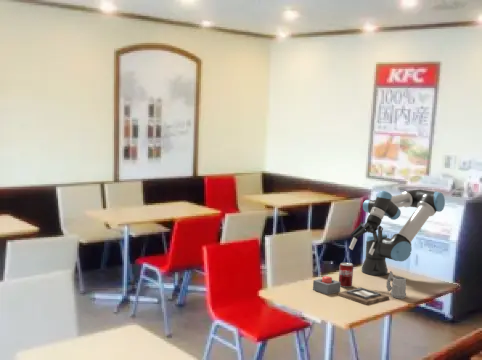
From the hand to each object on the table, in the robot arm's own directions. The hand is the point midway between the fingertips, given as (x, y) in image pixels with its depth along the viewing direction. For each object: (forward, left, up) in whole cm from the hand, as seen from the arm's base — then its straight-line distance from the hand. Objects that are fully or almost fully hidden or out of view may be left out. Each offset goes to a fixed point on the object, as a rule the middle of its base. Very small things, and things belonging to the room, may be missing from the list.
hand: (360, 251), depth 319 cm
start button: (+23, -2, -17) cm, 29 cm away
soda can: (+7, -3, -19) cm, 21 cm away
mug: (-2, +23, -19) cm, 30 cm away
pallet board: (+15, +16, -19) cm, 29 cm away
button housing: (+23, -2, -19) cm, 30 cm away
